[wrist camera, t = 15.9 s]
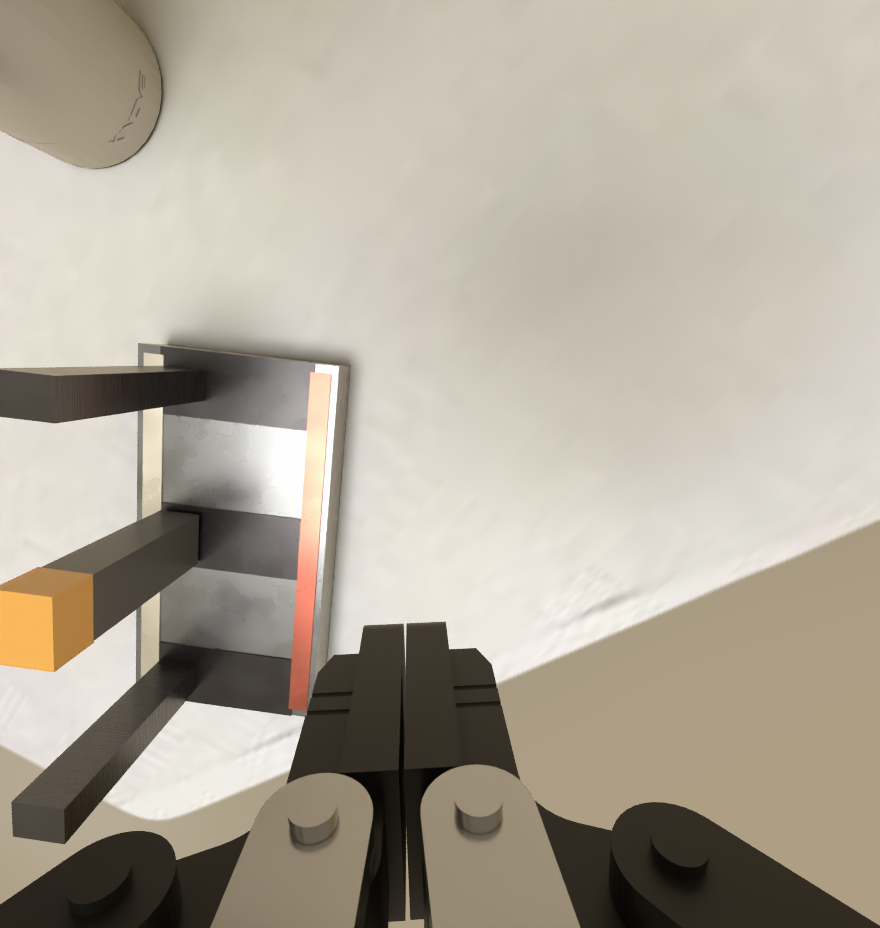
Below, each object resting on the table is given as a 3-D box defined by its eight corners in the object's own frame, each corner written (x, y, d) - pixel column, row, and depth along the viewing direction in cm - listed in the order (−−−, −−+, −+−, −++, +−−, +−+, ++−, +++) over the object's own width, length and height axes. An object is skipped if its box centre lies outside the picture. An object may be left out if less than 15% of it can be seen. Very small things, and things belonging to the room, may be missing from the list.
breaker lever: (159, 559, 35) (-5, 664, 23) (160, 509, 34) (-9, 589, 22) (198, 564, 34) (53, 672, 23) (200, 514, 34) (52, 597, 22)
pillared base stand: (160, 668, 40) (-25, 851, 25) (166, 344, 35) (-55, 333, 21) (324, 690, 39) (234, 890, 25) (350, 365, 35) (259, 369, 20)
